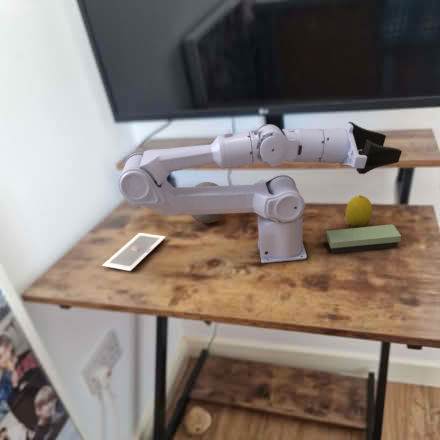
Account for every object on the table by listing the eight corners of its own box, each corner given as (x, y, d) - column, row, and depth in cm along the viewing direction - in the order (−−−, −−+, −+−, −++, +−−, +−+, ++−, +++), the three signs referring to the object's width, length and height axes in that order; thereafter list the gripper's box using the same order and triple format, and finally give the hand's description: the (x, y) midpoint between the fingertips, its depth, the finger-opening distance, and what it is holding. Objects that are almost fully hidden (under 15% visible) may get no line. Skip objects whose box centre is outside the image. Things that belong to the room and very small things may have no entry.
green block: (330, 255, 84) (331, 242, 82) (325, 242, 88) (326, 230, 86) (399, 248, 83) (401, 235, 81) (391, 236, 87) (393, 224, 85)
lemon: (370, 234, 89) (375, 200, 84) (344, 234, 90) (347, 201, 85) (368, 222, 93) (372, 189, 88) (343, 222, 94) (346, 190, 89)
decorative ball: (182, 226, 102) (175, 188, 96) (205, 209, 108) (200, 173, 102) (214, 233, 97) (209, 195, 91) (236, 215, 103) (233, 178, 97)
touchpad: (103, 269, 90) (100, 261, 89) (140, 236, 101) (138, 228, 99) (131, 275, 87) (129, 266, 86) (166, 240, 97) (165, 232, 96)
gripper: (334, 138, 66) (415, 140, 67) (314, 111, 77) (384, 113, 78) (325, 179, 70) (401, 180, 71) (308, 147, 81) (373, 149, 82)
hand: (391, 148), depth 75 cm, fingers open, 7 cm apart
